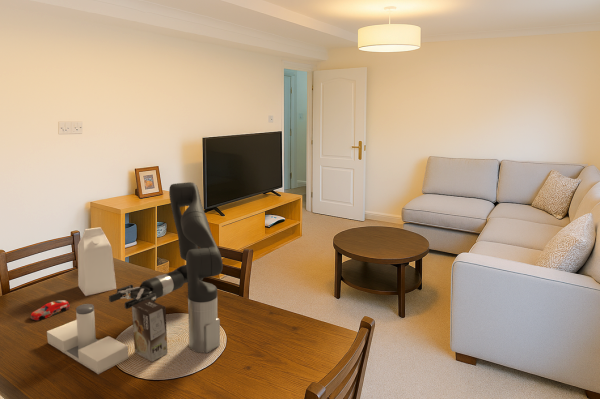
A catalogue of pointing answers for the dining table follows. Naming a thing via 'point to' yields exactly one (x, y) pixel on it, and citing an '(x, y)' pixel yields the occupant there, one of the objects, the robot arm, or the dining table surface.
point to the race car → (50, 310)
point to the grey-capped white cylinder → (85, 325)
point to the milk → (95, 263)
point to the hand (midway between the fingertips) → (117, 302)
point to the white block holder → (88, 348)
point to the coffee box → (149, 329)
